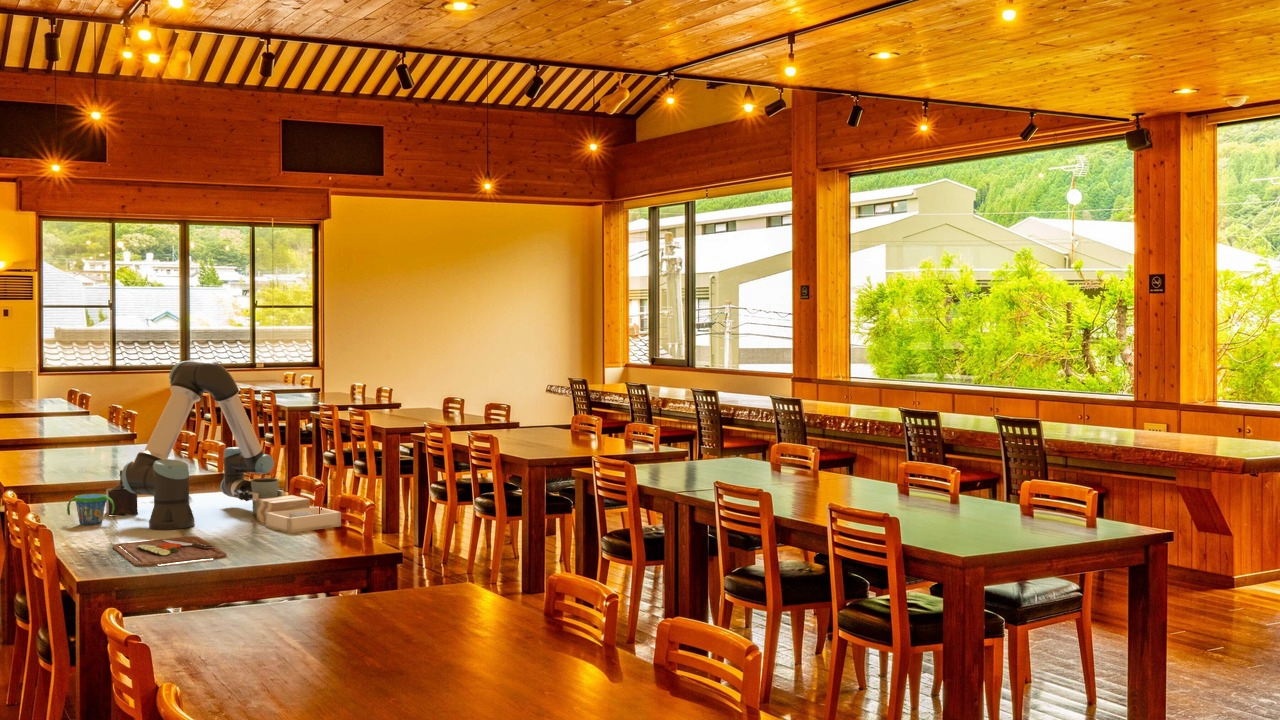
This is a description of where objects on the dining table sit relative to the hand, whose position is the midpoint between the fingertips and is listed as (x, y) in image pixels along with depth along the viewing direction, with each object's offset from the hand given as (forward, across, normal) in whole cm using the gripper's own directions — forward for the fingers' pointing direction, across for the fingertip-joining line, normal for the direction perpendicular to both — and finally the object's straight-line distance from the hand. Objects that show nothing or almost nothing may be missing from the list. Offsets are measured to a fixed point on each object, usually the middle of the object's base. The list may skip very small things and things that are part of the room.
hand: (270, 496), depth 444 cm
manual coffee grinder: (-47, +35, -8) cm, 59 cm away
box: (+27, 0, -8) cm, 28 cm away
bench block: (+11, 0, -8) cm, 13 cm away
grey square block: (+27, +1, -3) cm, 27 cm away
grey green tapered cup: (-5, 0, -6) cm, 8 cm away
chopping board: (+41, +53, -9) cm, 68 cm away
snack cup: (-31, +54, -8) cm, 63 cm away
